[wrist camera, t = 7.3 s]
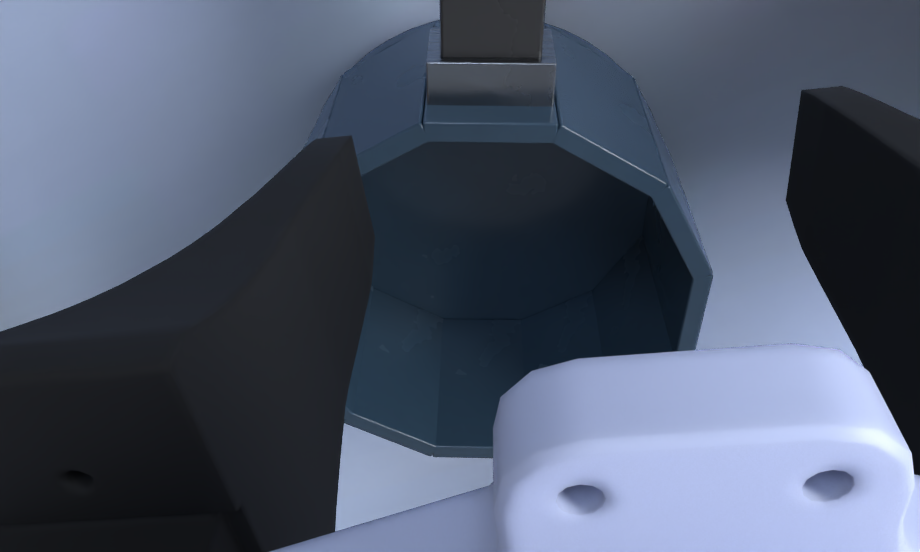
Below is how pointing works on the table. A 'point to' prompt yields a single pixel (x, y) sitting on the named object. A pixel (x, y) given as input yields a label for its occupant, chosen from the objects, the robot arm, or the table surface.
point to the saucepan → (506, 220)
